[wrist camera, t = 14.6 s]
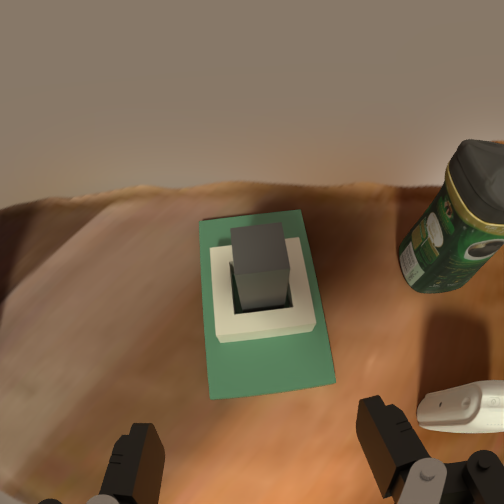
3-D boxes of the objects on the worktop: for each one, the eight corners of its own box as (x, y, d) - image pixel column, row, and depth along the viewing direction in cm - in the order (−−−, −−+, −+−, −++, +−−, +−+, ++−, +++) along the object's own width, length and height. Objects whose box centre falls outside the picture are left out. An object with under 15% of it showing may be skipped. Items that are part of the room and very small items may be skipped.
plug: (243, 316, 32) (234, 275, 23) (239, 273, 34) (229, 219, 25) (283, 311, 32) (290, 268, 23) (276, 268, 34) (279, 213, 25)
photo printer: (410, 429, 26) (479, 428, 15) (419, 390, 28) (488, 370, 17) (482, 434, 24) (557, 427, 13) (489, 399, 26) (562, 379, 15)
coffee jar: (451, 235, 36) (522, 135, 20) (468, 290, 33) (562, 202, 16) (389, 238, 37) (450, 121, 20) (404, 300, 33) (495, 199, 17)
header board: (212, 399, 29) (204, 397, 25) (200, 227, 38) (194, 206, 35) (333, 383, 29) (343, 379, 25) (299, 215, 39) (302, 193, 35)
